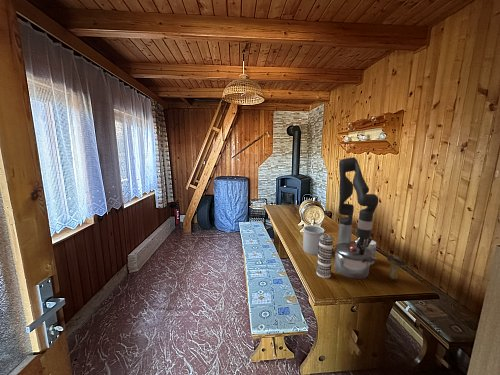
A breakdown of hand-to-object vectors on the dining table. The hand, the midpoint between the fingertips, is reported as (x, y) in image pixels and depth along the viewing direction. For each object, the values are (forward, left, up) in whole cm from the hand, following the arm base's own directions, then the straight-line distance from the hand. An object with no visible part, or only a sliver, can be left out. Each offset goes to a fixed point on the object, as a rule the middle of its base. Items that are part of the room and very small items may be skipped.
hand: (361, 254), depth 131 cm
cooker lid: (0, -5, -1) cm, 5 cm away
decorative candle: (+20, -9, -14) cm, 26 cm away
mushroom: (-14, +12, -14) cm, 23 cm away
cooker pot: (0, -6, -14) cm, 15 cm away
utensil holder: (+6, -36, -14) cm, 39 cm away
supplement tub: (-18, -9, -14) cm, 24 cm away
